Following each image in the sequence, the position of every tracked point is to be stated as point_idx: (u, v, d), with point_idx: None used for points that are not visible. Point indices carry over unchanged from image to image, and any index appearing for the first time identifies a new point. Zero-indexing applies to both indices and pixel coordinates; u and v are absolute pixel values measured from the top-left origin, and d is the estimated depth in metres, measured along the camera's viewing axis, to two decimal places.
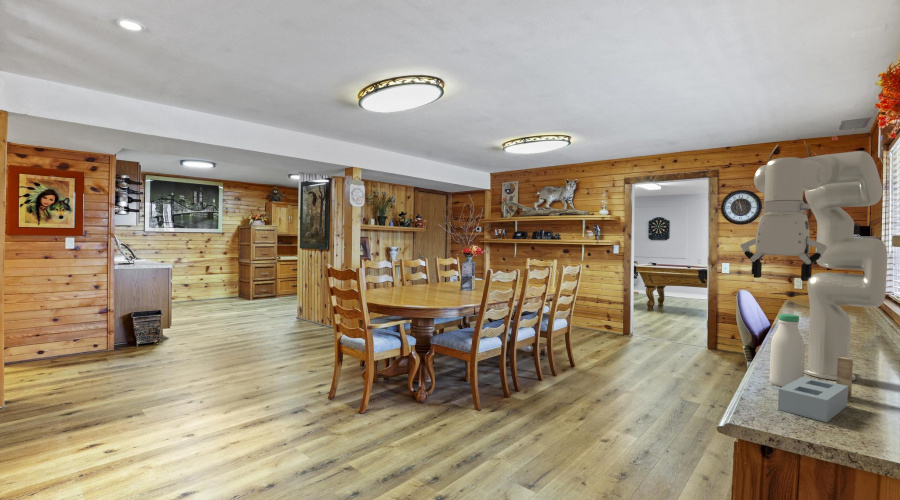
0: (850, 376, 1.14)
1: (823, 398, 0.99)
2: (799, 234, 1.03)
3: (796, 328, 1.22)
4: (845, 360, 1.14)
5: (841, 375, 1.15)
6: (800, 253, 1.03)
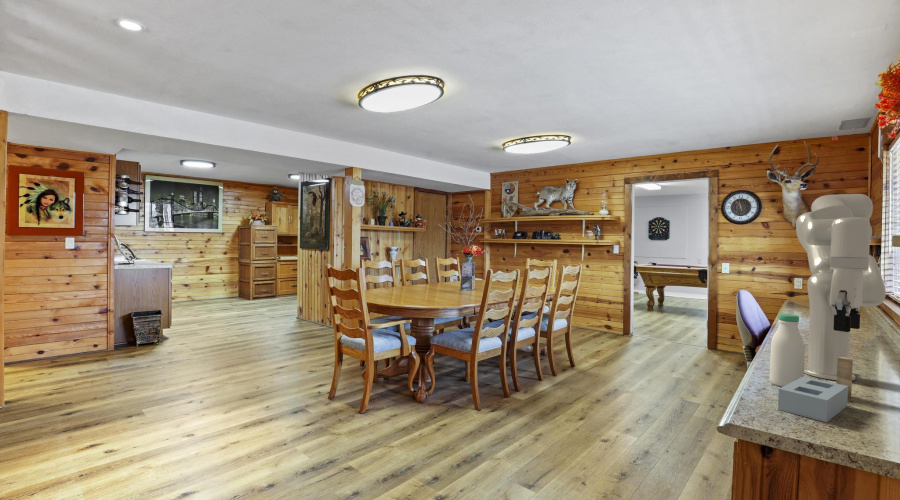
0: (850, 376, 1.14)
1: (823, 398, 0.99)
2: None
3: (796, 328, 1.22)
4: (845, 360, 1.14)
5: (841, 375, 1.15)
6: None
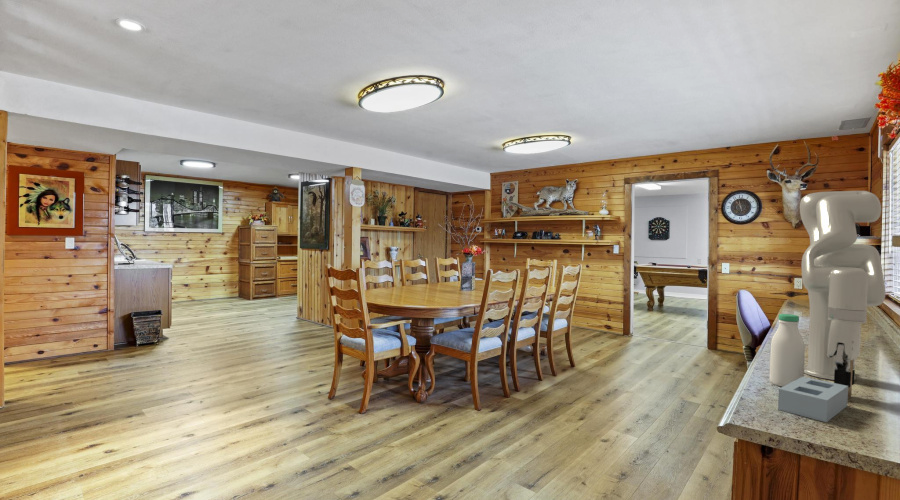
0: None
1: (823, 398, 0.99)
2: (860, 338, 1.16)
3: (796, 328, 1.22)
4: None
5: None
6: None
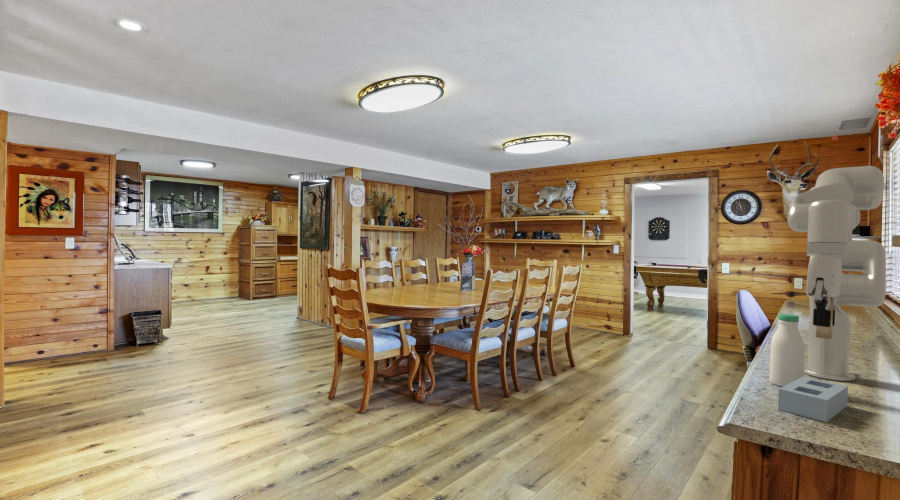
0: None
1: (823, 398, 0.99)
2: (841, 276, 1.08)
3: (796, 328, 1.22)
4: None
5: None
6: None
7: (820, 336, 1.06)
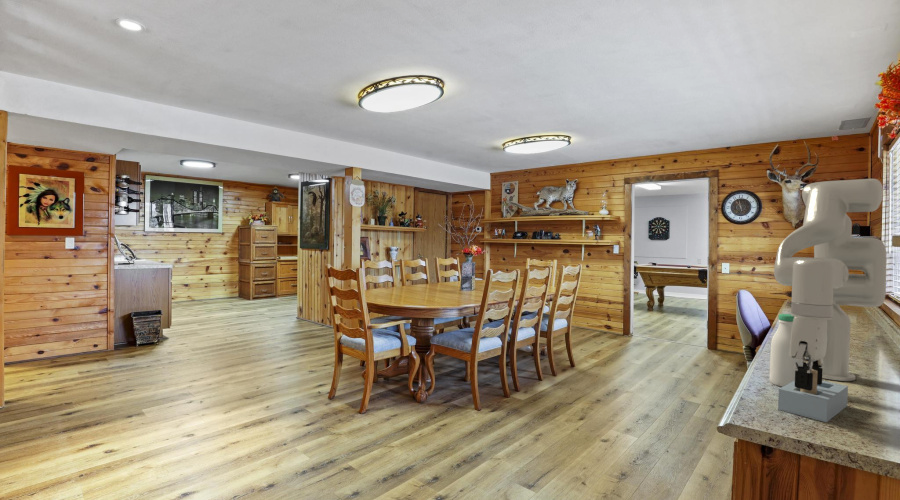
0: (814, 390, 1.02)
1: (823, 398, 0.99)
2: (826, 336, 1.04)
3: None
4: None
5: None
6: None
7: None
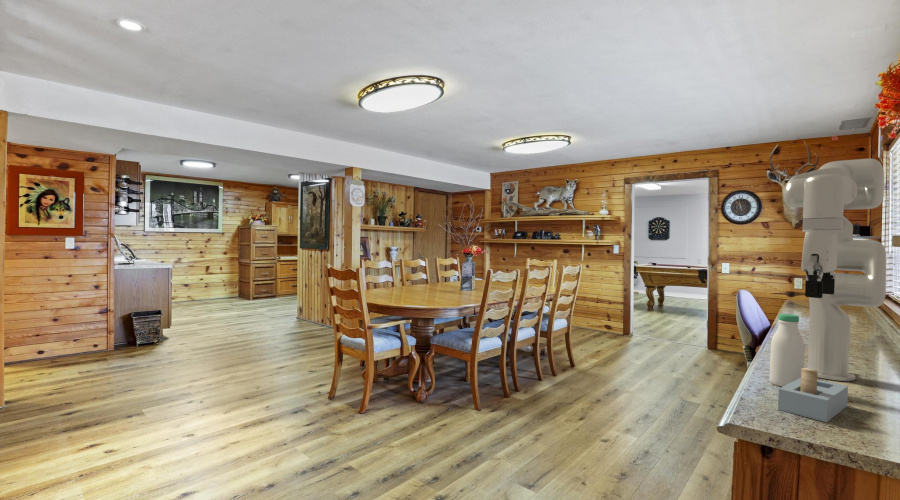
0: (814, 390, 1.02)
1: (823, 398, 0.99)
2: (837, 251, 1.08)
3: (796, 328, 1.22)
4: (809, 372, 1.03)
5: (805, 388, 1.03)
6: None
7: None
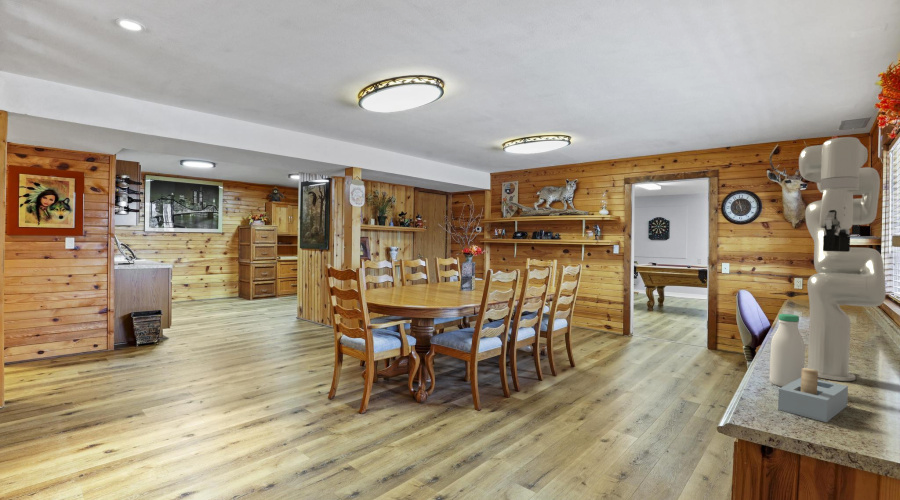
0: (815, 390, 1.02)
1: (823, 398, 0.99)
2: None
3: (796, 328, 1.22)
4: (809, 372, 1.02)
5: (805, 389, 1.03)
6: None
7: None
